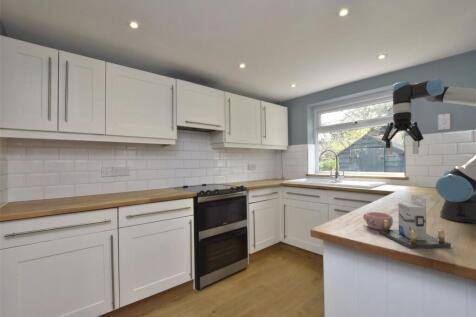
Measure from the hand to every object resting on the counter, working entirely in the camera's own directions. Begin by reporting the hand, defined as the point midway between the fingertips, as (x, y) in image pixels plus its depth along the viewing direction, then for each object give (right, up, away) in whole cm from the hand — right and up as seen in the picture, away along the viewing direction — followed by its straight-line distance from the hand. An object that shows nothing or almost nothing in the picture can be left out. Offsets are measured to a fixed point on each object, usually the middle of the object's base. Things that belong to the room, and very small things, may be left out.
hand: (402, 154), depth 113 cm
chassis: (-21, -32, -32) cm, 50 cm away
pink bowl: (-25, -32, -18) cm, 45 cm away
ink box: (-21, -31, -32) cm, 49 cm away
